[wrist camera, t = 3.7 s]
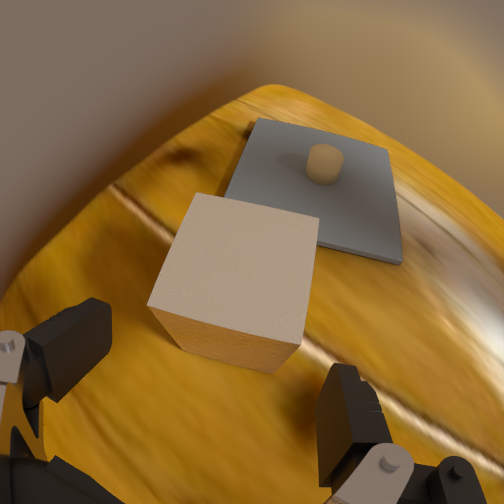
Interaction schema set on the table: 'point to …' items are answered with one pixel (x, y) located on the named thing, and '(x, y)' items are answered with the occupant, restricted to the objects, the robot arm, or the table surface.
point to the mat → (323, 186)
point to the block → (237, 282)
